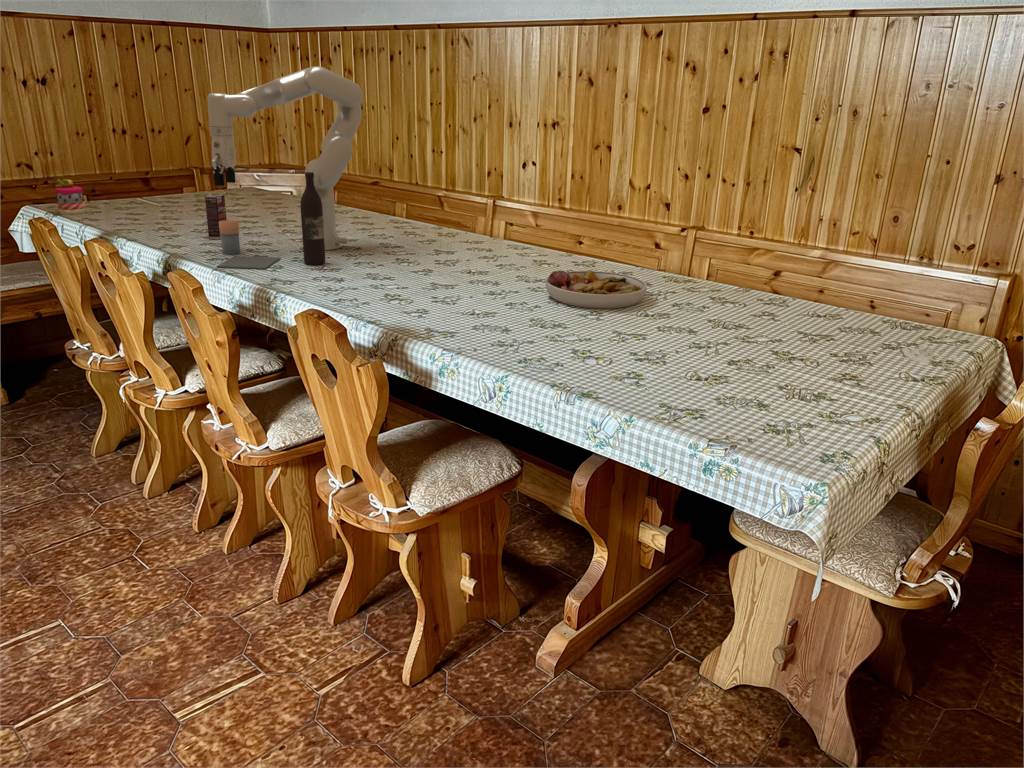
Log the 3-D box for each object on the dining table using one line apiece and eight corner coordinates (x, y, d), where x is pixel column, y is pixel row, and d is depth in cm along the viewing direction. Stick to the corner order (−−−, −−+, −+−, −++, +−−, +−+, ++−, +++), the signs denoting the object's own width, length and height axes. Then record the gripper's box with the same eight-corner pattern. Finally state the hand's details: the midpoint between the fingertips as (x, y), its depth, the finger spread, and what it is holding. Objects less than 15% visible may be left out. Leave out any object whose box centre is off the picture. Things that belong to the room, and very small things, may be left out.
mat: (280, 259, 271) (280, 257, 271) (265, 269, 256) (265, 267, 256) (234, 257, 272) (234, 256, 271) (216, 267, 257) (216, 266, 256)
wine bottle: (304, 265, 263) (298, 173, 252) (303, 261, 269) (297, 171, 259) (326, 265, 265) (321, 173, 254) (325, 260, 271) (319, 171, 261)
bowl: (635, 287, 250) (637, 262, 247) (654, 313, 222) (657, 286, 219) (541, 285, 249) (542, 260, 246) (548, 311, 221) (550, 283, 218)
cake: (61, 211, 349) (55, 176, 343) (88, 211, 352) (82, 176, 346) (56, 215, 339) (50, 179, 334) (83, 215, 342) (78, 179, 337)
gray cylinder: (243, 251, 282) (241, 231, 279) (236, 254, 276) (235, 234, 274) (226, 250, 282) (224, 231, 279) (220, 254, 276) (217, 234, 274)
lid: (242, 231, 280) (241, 220, 278) (235, 234, 273) (234, 223, 272) (223, 230, 280) (222, 219, 278) (216, 234, 274) (215, 222, 272)
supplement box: (220, 239, 301) (216, 197, 295) (208, 239, 301) (203, 196, 295) (229, 235, 309) (224, 194, 303) (216, 235, 309) (212, 193, 303)
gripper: (222, 133, 257) (226, 187, 263) (242, 131, 274) (245, 182, 279) (199, 132, 258) (204, 186, 263) (220, 130, 274) (224, 180, 280)
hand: (225, 184), depth 271 cm, fingers open, 9 cm apart
